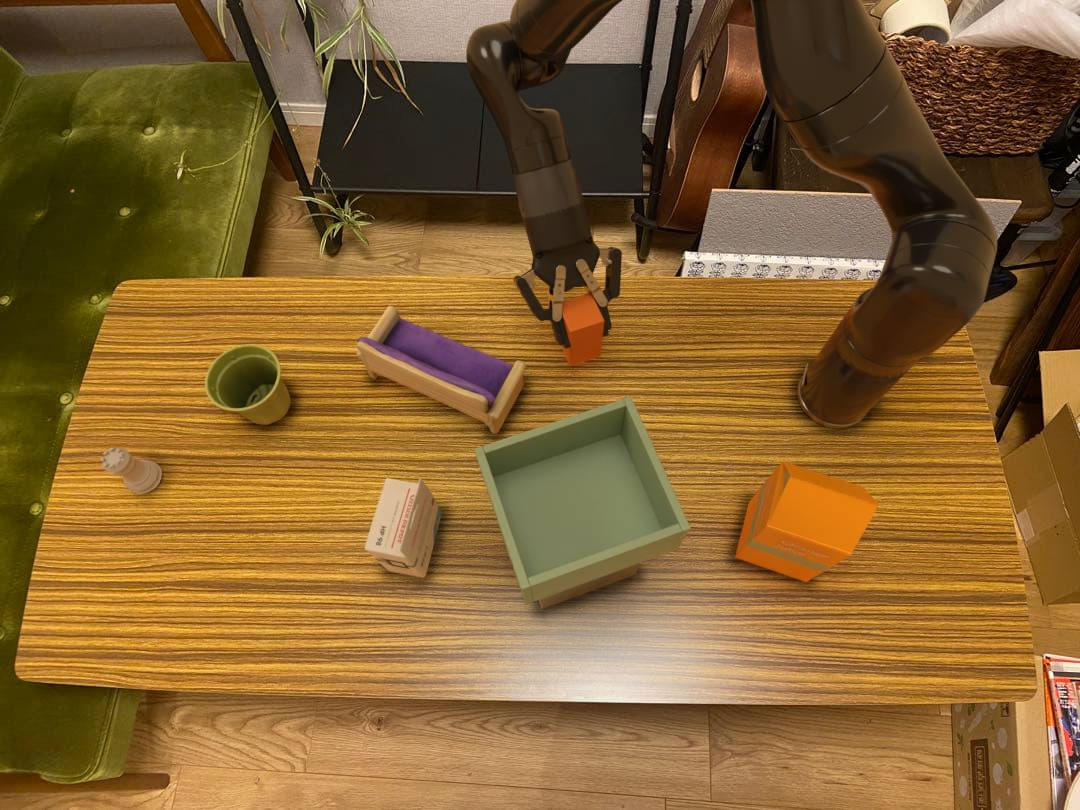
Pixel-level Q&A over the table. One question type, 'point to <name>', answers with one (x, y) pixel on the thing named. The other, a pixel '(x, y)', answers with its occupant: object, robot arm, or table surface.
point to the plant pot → (248, 384)
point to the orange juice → (803, 522)
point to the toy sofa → (442, 369)
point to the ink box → (404, 527)
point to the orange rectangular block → (582, 329)
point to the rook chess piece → (132, 470)
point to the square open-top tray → (581, 499)
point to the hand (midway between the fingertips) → (585, 340)
